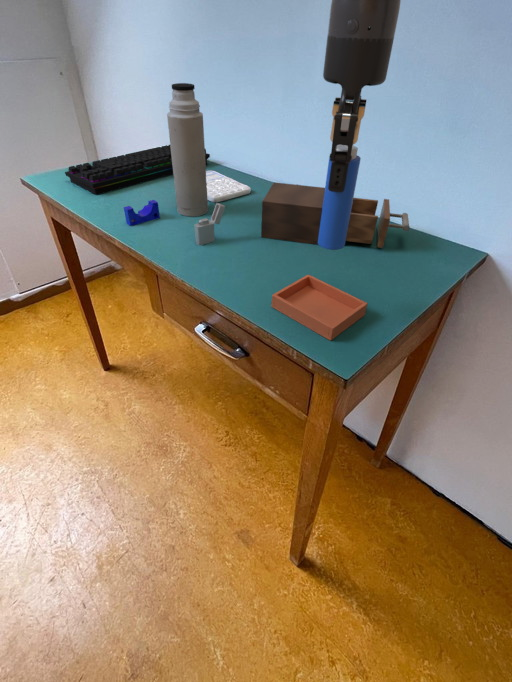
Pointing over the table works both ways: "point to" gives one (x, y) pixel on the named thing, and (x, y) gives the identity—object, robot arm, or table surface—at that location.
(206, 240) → the lighter
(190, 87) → the thermos bottle
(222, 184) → the calculator
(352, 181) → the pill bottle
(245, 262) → the table surface
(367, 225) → the drawer
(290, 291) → the tray
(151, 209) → the cable holder
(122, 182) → the keyboard
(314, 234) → the cabinet
